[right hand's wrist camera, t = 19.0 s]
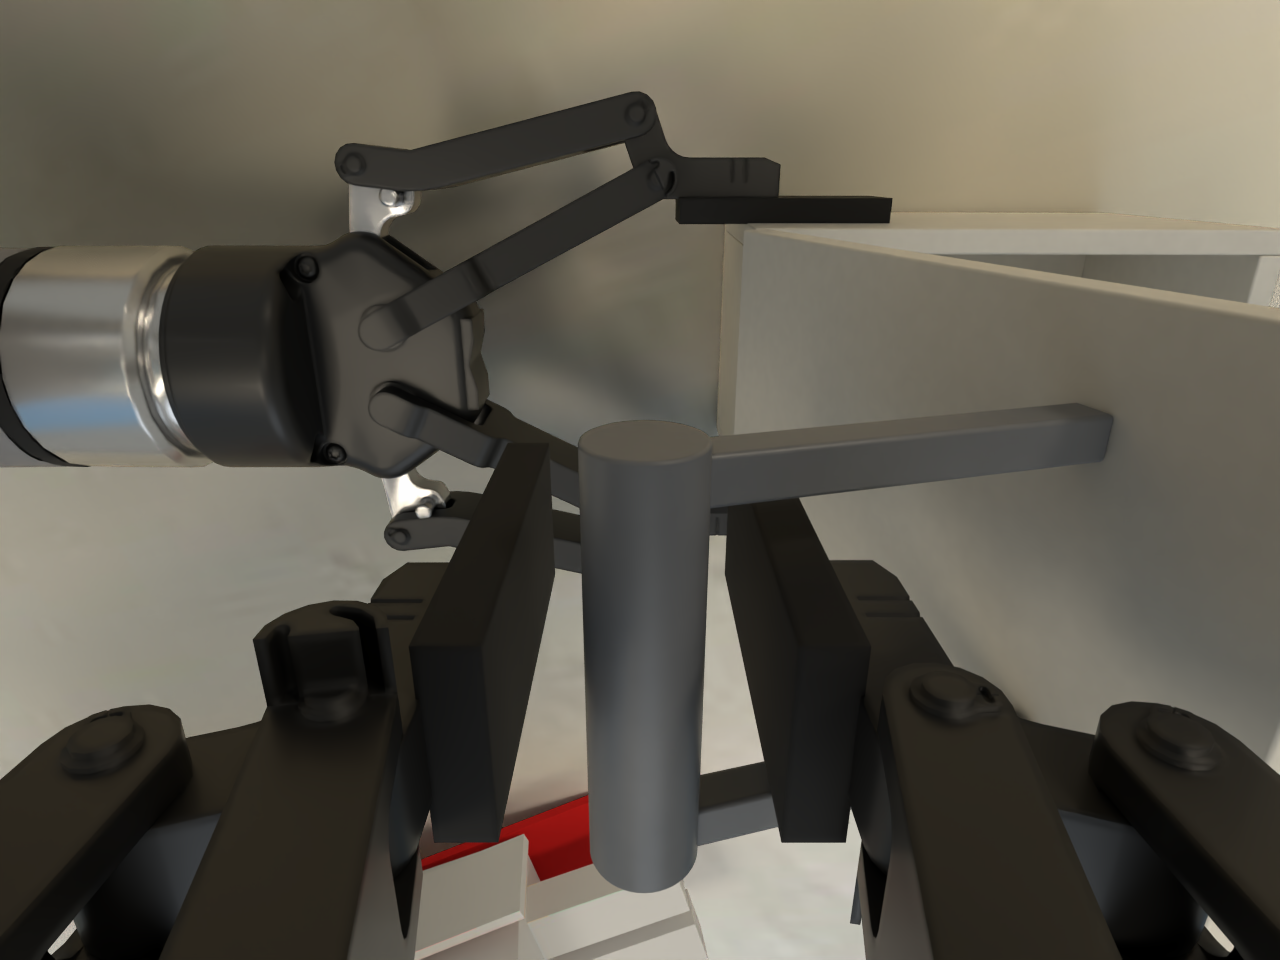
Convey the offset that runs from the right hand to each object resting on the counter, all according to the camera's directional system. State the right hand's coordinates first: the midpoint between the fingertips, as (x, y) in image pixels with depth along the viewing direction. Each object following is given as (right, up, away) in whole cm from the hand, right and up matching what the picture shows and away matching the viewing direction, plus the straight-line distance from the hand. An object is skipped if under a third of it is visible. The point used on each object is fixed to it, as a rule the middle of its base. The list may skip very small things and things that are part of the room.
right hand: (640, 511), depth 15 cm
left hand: (+8, +5, +12) cm, 15 cm away
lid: (+6, +1, +2) cm, 6 cm away
